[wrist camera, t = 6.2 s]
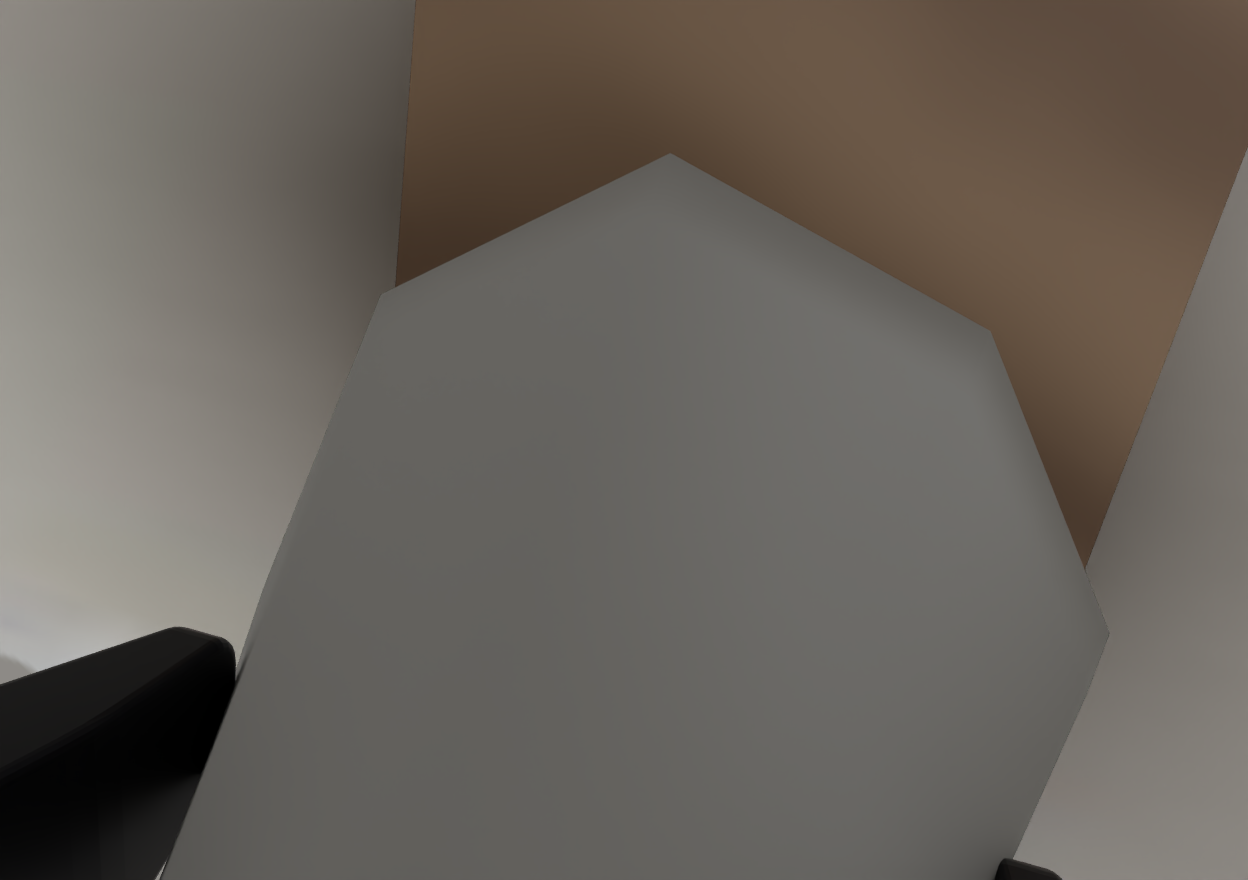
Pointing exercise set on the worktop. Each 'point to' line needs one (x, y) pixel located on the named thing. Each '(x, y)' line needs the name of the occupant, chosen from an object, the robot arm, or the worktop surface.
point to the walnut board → (879, 160)
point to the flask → (656, 576)
